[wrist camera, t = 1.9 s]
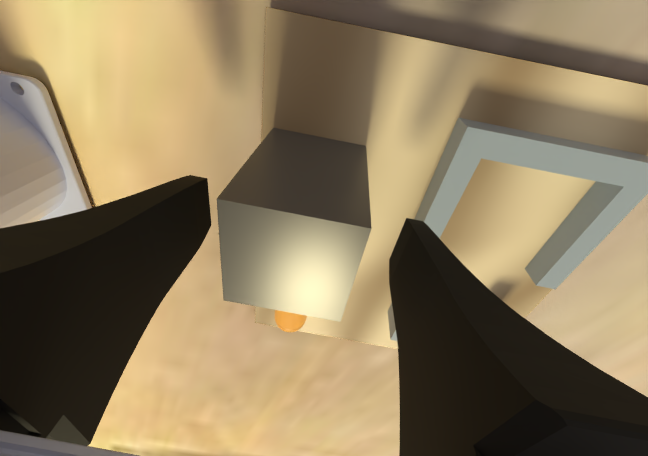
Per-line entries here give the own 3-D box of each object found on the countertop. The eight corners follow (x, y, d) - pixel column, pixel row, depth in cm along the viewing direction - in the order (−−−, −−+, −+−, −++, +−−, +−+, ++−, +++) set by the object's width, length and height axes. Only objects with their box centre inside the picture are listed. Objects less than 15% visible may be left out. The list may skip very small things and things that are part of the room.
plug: (262, 306, 19) (230, 402, 14) (273, 127, 12) (216, 198, 7) (321, 317, 19) (309, 416, 14) (366, 146, 12) (371, 228, 7)
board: (256, 318, 21) (254, 322, 20) (268, 7, 10) (265, 6, 10) (478, 359, 21) (480, 364, 21) (718, 100, 10) (730, 102, 10)
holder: (402, 245, 15) (405, 260, 14) (458, 117, 11) (467, 126, 10) (542, 272, 15) (555, 289, 14) (645, 155, 11) (672, 167, 10)
